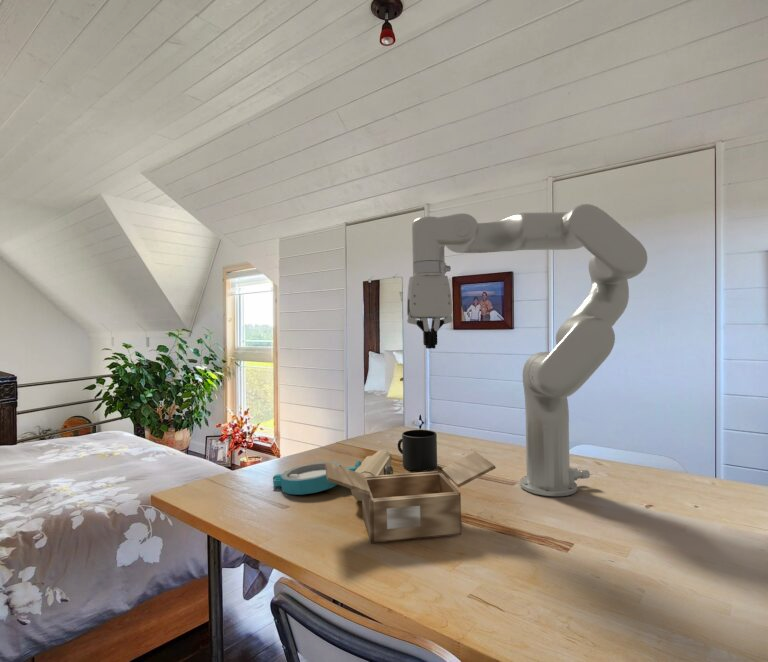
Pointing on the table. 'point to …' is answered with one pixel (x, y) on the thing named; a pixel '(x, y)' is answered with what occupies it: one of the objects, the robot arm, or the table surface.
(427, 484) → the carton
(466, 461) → the flap
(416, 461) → the mug
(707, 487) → the table surface
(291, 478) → the butterfly valve
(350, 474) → the flap
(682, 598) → the table surface
